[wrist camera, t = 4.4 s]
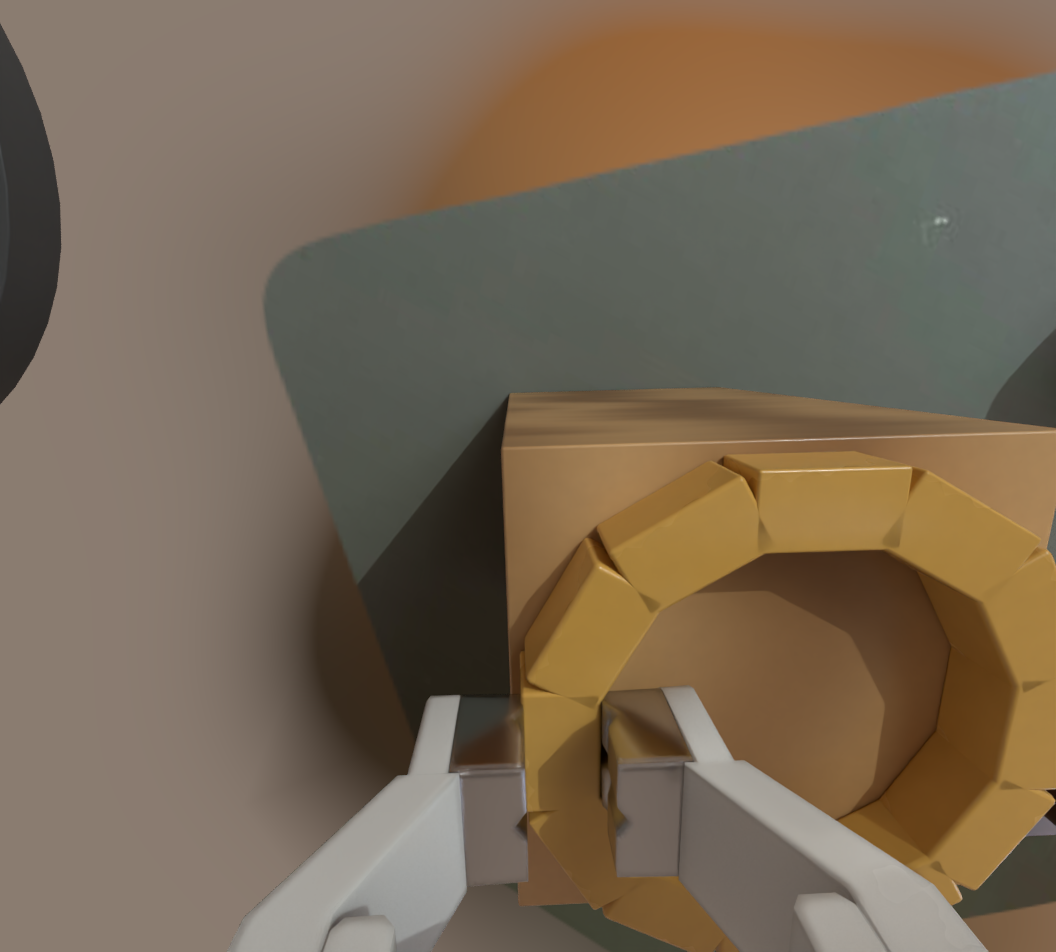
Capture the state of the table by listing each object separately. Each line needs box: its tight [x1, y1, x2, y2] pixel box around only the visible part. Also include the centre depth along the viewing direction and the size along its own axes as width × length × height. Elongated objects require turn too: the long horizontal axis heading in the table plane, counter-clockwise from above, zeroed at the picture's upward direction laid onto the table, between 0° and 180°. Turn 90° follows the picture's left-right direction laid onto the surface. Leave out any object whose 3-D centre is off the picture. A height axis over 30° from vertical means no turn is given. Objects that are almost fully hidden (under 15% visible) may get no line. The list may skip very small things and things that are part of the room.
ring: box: [520, 451, 1056, 952], centre depth 8 cm, size 9×9×1 cm
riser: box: [501, 387, 1056, 906], centre depth 16 cm, size 9×9×14 cm
